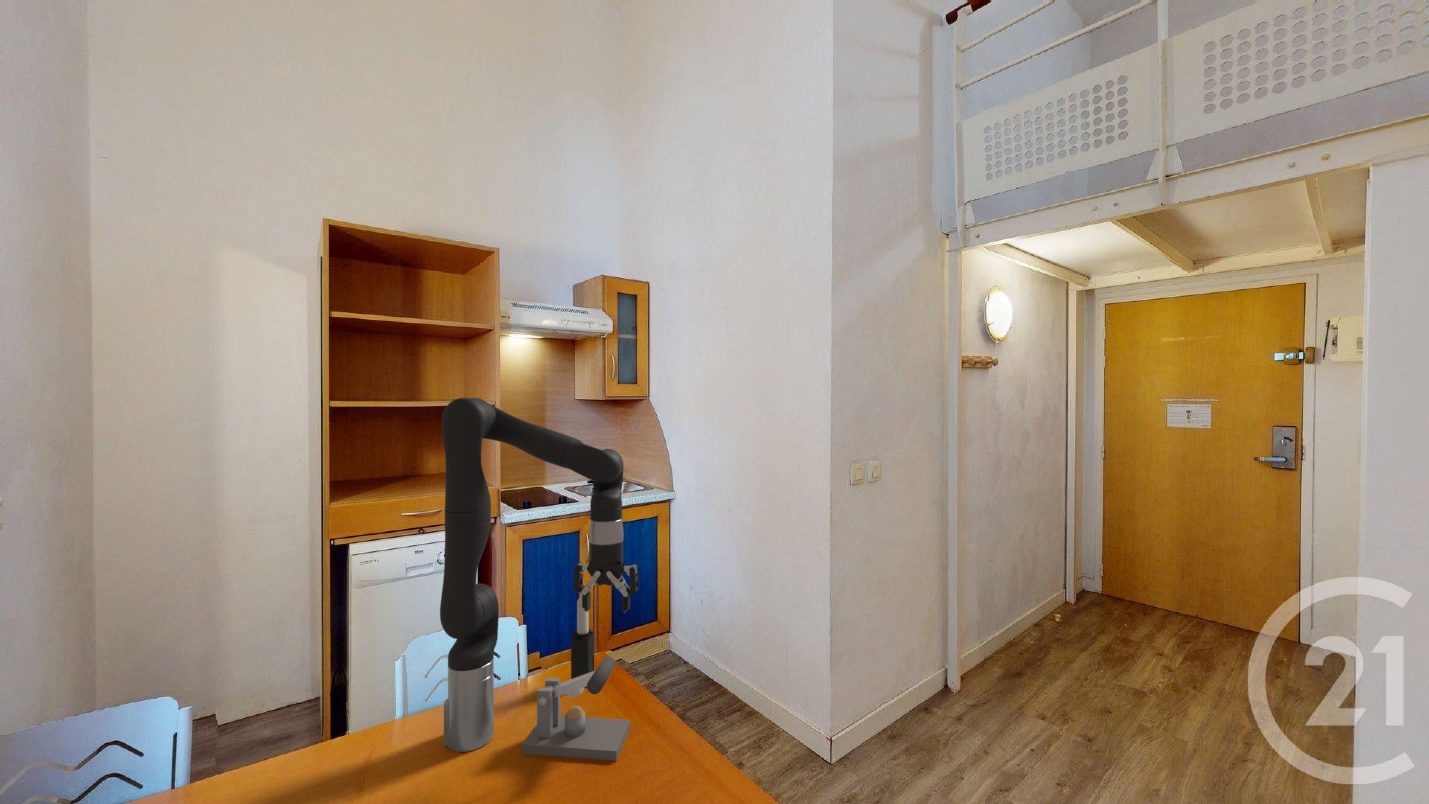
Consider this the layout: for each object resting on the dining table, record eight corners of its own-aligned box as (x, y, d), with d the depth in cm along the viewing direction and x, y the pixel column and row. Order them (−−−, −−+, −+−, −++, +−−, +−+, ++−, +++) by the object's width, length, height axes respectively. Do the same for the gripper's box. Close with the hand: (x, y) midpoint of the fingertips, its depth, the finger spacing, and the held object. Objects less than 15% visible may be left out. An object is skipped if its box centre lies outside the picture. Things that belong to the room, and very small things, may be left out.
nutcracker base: (522, 753, 114) (522, 697, 114) (544, 723, 125) (544, 671, 125) (616, 760, 112) (616, 703, 112) (630, 728, 123) (630, 676, 123)
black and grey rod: (587, 688, 140) (587, 592, 140) (569, 686, 141) (569, 590, 141) (595, 678, 145) (595, 585, 145) (578, 676, 146) (578, 584, 146)
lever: (536, 717, 114) (530, 701, 114) (555, 692, 124) (549, 677, 124) (604, 693, 113) (598, 676, 113) (618, 669, 122) (612, 654, 123)
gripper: (569, 542, 118) (569, 616, 118) (632, 544, 116) (632, 619, 116) (581, 533, 125) (581, 603, 125) (641, 535, 124) (641, 606, 124)
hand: (606, 611), depth 121 cm, fingers open, 8 cm apart
